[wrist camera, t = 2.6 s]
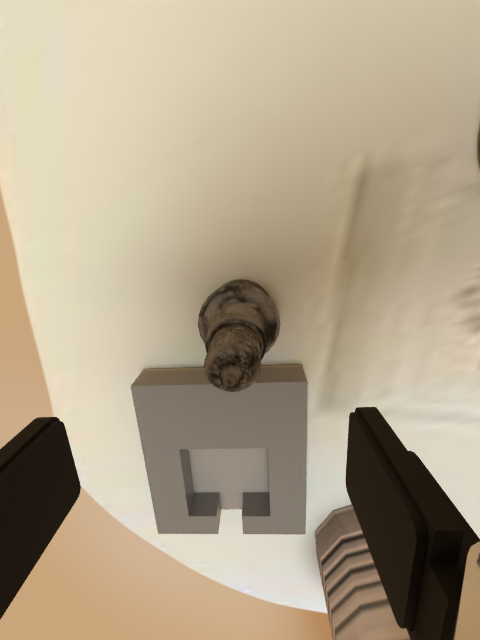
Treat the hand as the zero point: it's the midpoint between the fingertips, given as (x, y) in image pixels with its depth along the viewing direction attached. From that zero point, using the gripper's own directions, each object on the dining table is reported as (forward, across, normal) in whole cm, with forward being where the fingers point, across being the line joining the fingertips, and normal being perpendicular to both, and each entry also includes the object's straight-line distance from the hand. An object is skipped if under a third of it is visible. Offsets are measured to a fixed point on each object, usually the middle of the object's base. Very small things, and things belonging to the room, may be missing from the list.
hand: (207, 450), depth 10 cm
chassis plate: (+16, +1, +13) cm, 20 cm away
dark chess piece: (+16, -1, 0) cm, 16 cm away
